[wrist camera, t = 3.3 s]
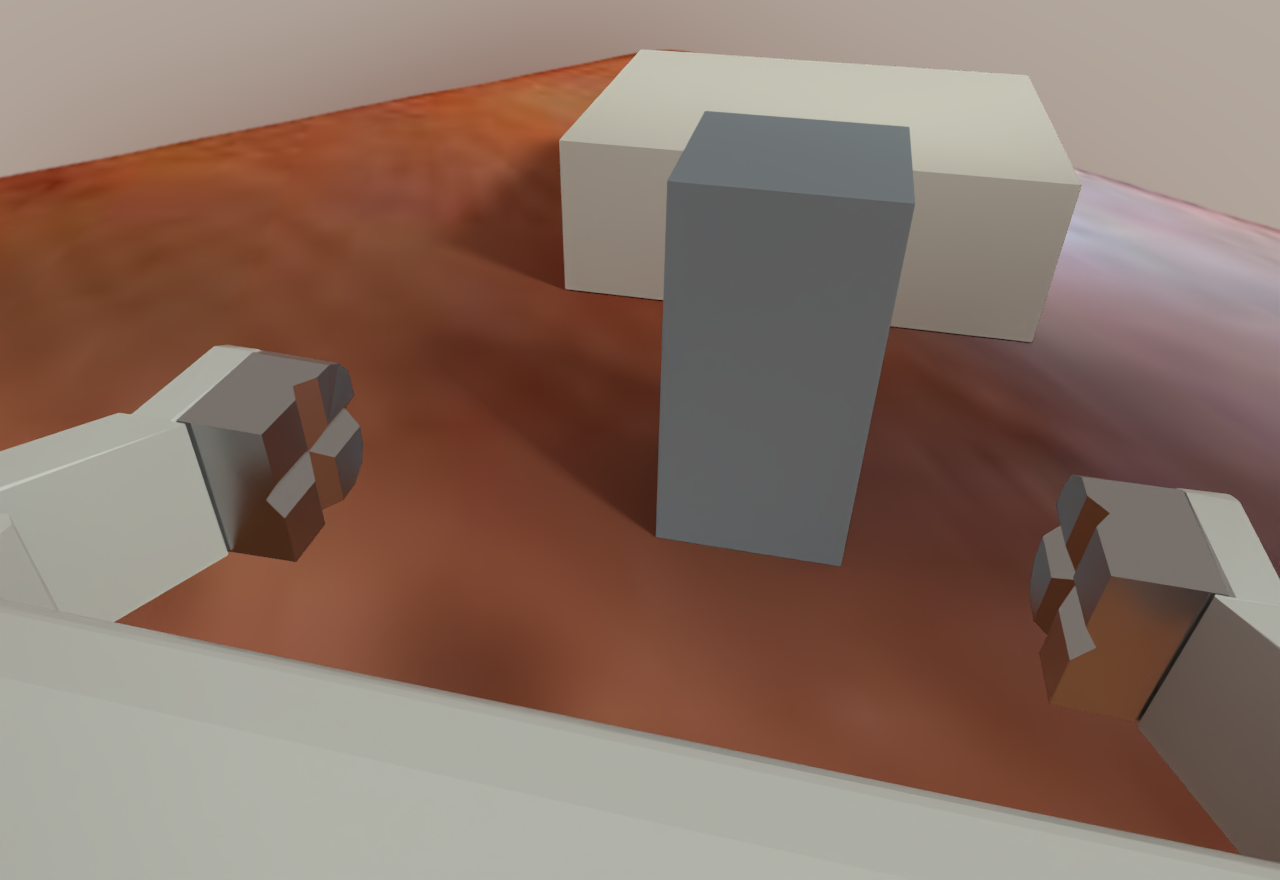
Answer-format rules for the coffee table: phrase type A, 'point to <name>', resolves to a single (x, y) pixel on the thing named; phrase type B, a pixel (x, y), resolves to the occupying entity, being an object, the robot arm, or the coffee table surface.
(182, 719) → the robot arm
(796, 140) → the slate block
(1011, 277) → the base
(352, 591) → the coffee table surface
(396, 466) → the coffee table surface
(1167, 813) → the coffee table surface
